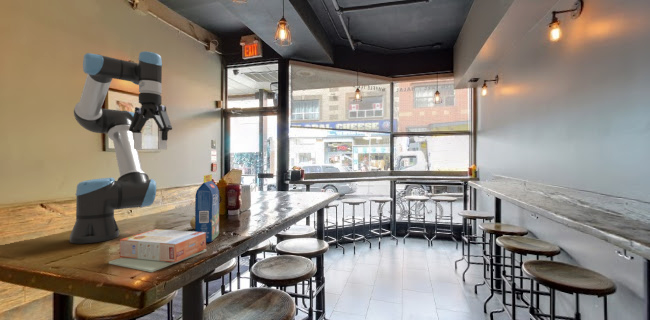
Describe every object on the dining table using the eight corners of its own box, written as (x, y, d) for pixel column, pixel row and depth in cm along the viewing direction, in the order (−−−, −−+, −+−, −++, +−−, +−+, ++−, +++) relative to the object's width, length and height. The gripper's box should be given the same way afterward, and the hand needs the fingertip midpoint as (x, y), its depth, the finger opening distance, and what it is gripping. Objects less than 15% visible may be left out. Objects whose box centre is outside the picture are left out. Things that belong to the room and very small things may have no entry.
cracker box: (119, 258, 90) (175, 263, 84) (118, 238, 90) (175, 242, 84) (156, 245, 103) (207, 249, 98) (156, 228, 103) (206, 231, 98)
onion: (198, 232, 125) (198, 215, 125) (186, 230, 129) (186, 214, 129) (213, 228, 132) (213, 212, 132) (200, 226, 136) (201, 211, 136)
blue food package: (219, 234, 121) (219, 174, 121) (212, 242, 109) (212, 175, 109) (203, 234, 120) (203, 174, 120) (194, 242, 108) (194, 175, 108)
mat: (108, 263, 86) (108, 261, 86) (167, 245, 105) (167, 243, 105) (151, 272, 80) (151, 270, 80) (206, 251, 98) (206, 249, 98)
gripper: (118, 94, 113) (118, 149, 112) (165, 88, 103) (164, 148, 103) (137, 98, 120) (137, 150, 119) (182, 93, 110) (182, 149, 110)
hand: (150, 149), depth 111 cm, fingers open, 13 cm apart
